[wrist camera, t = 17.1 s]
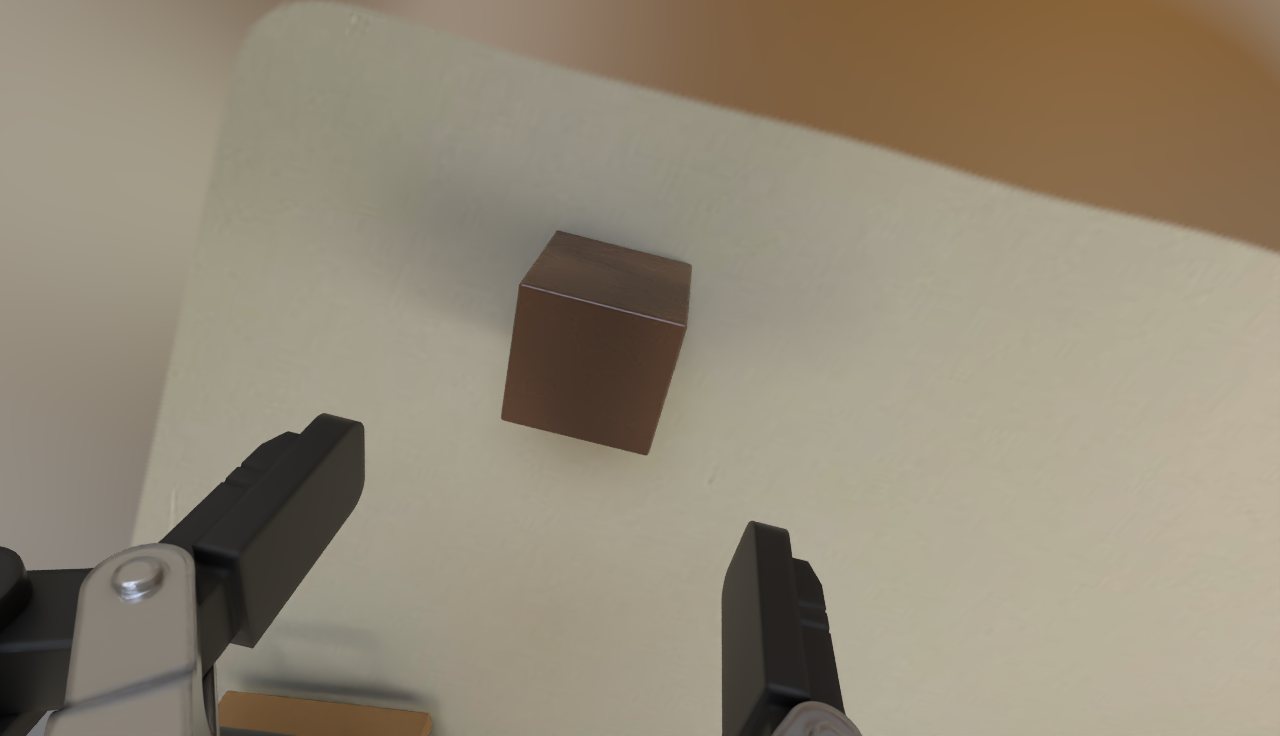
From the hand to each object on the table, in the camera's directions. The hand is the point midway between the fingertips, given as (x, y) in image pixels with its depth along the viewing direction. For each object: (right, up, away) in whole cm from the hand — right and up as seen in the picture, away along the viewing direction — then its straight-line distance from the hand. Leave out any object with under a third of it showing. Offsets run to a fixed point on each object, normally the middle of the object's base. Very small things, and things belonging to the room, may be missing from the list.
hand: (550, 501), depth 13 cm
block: (+1, +5, +8) cm, 10 cm away
